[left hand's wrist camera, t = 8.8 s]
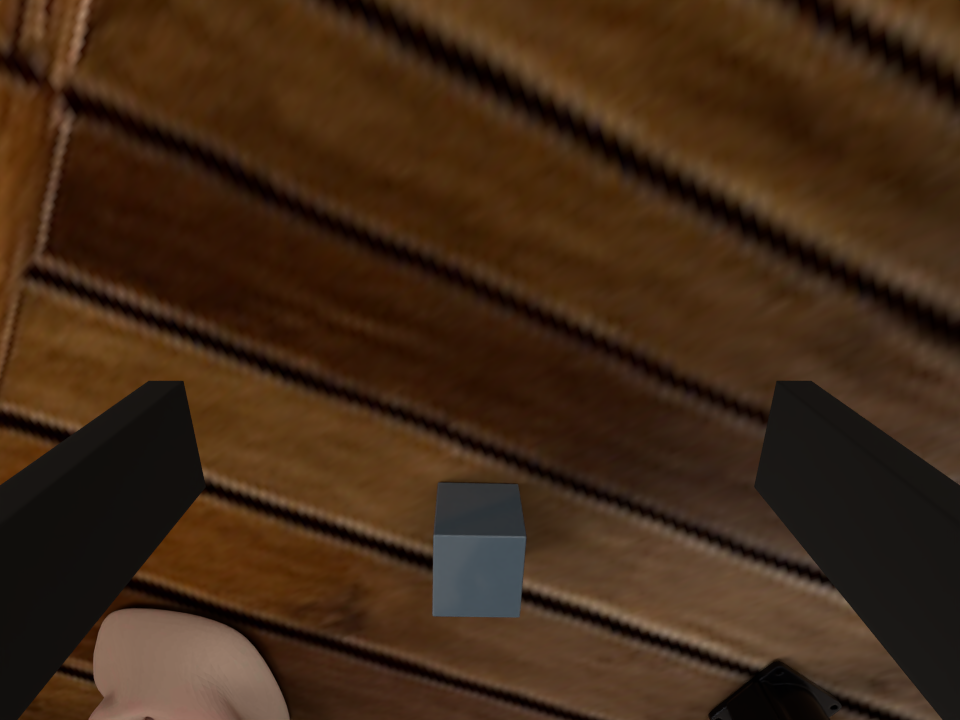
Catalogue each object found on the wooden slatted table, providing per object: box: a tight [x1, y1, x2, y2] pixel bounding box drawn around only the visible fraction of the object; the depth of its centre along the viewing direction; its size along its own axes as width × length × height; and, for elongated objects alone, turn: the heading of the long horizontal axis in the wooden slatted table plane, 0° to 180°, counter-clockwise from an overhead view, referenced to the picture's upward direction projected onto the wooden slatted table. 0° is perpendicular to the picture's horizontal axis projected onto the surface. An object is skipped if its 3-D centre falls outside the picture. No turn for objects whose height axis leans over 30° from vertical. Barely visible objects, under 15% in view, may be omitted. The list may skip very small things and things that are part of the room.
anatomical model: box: [89, 608, 290, 720], centre depth 34 cm, size 13×4×12 cm
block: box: [432, 482, 527, 617], centre depth 30 cm, size 4×5×5 cm
